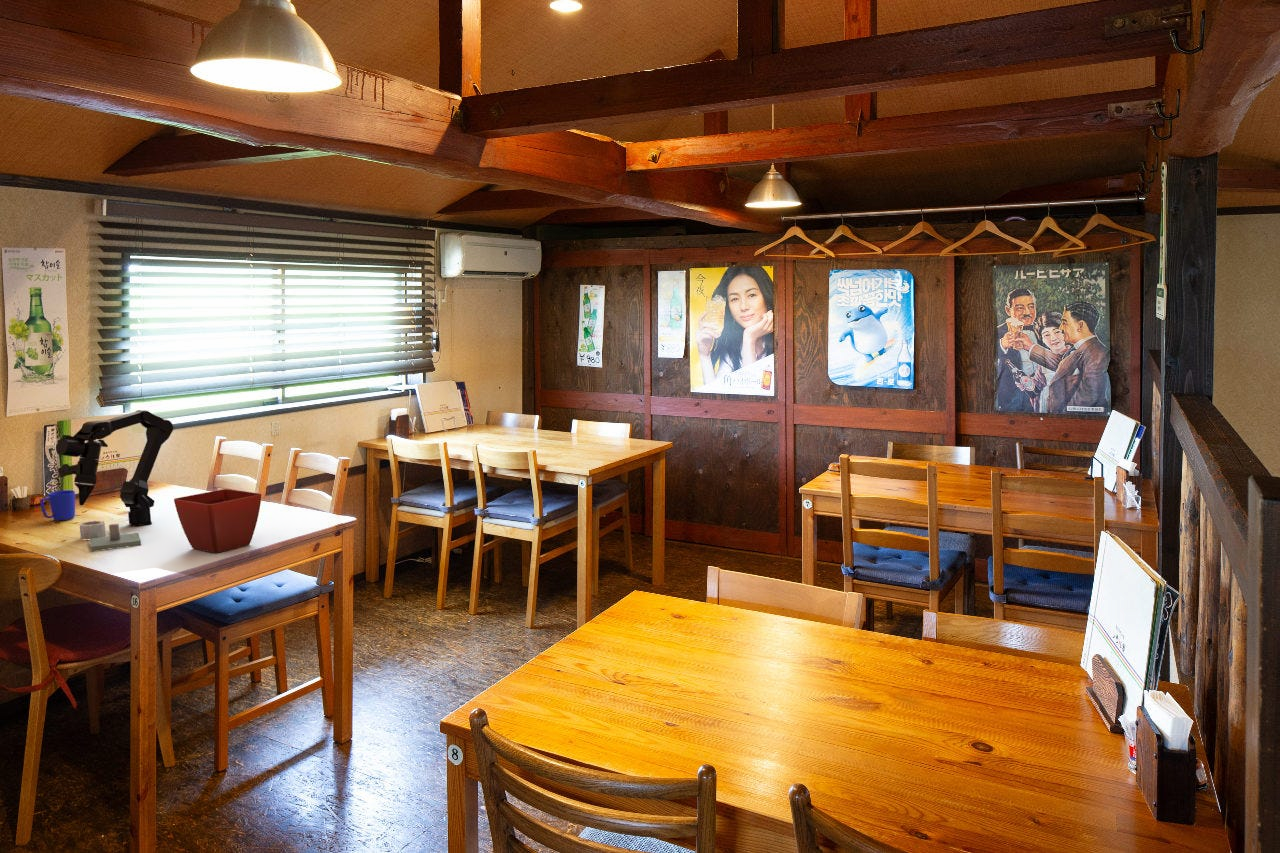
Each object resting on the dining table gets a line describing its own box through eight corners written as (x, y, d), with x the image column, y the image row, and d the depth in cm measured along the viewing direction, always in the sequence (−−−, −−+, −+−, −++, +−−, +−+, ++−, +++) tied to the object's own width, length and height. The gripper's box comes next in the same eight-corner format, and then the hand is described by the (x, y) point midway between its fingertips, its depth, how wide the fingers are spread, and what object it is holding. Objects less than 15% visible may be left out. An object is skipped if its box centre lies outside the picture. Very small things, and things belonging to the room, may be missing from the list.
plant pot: (229, 536, 307) (225, 487, 305) (266, 543, 298) (263, 493, 295) (176, 550, 291) (172, 498, 289) (213, 558, 281) (209, 504, 279)
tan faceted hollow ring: (105, 533, 312) (104, 519, 311) (106, 538, 306) (104, 523, 305) (80, 536, 308) (79, 522, 308) (81, 541, 302) (79, 526, 301)
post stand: (138, 537, 307) (137, 518, 306) (141, 545, 297) (139, 525, 296) (90, 543, 300) (88, 523, 299) (91, 551, 290) (89, 531, 289)
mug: (35, 523, 328) (32, 496, 327) (67, 515, 339) (64, 489, 338) (50, 525, 325) (48, 497, 324) (82, 517, 336) (80, 491, 335)
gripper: (62, 455, 311) (53, 501, 309) (60, 455, 295) (52, 503, 293) (99, 460, 316) (91, 504, 315) (100, 459, 301) (92, 506, 299)
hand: (81, 504), depth 305 cm, fingers open, 9 cm apart
